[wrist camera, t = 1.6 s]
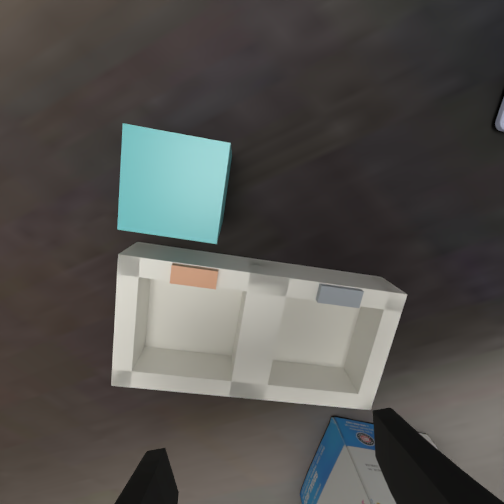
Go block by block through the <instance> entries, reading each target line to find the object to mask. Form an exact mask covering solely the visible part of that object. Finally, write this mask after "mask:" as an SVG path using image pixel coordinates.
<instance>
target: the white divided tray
mask: <svg viewBox="0 0 504 504" xmlns="http://www.w3.org/2000/svg"><path fill="white" fill-rule="evenodd" d="M406 297H407V294H406V293H405V292H403V291H402V290H400V289H399V288H397V287H396V286H394V285H393V284H391V283H390V282H388V281H387V280H385V279H384V278H382V277H379V276H372V275H365V274H358V273H351V272H344V271H337V270H331V269H324V268H317V267H310V266H303V265H296V264H289V263H282V262H275V261H268V260H261V259H254V258H247V257H240V256H233V255H226V254H219V253H212V252H205V251H198V250H191V249H184V248H177V247H170V246H163V245H156V244H149V243H142V242H136V243H135V244H133V245H132V246H130V247H129V248H127V249H126V250H124V251H123V252H121V253H120V254H118V267H117V286H116V305H115V324H114V343H113V362H112V380H111V386H121V387H131V388H142V389H153V390H163V391H174V392H184V393H195V394H205V395H216V396H227V397H237V398H248V399H258V400H269V401H280V402H290V403H301V404H311V405H322V406H332V407H343V408H354V409H364V410H371V407H372V404H373V401H374V398H375V395H376V392H377V388H378V385H379V382H380V379H381V376H382V373H383V370H384V366H385V363H386V360H387V357H388V354H389V351H390V348H391V345H392V341H393V338H394V335H395V332H396V329H397V326H398V323H399V319H400V316H401V313H402V310H403V307H404V304H405V301H406Z"/></svg>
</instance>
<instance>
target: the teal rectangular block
mask: <svg viewBox="0 0 504 504" xmlns="http://www.w3.org/2000/svg"><path fill="white" fill-rule="evenodd" d="M231 159H232V151H231V143H227V142H222V141H216V140H211V139H205V138H200V137H194V136H189V135H184V134H178V133H173V132H167V131H162V130H156V129H151V128H145V127H140V126H134V125H129V124H123V131H122V150H121V170H120V189H119V209H118V228H117V229H118V230H125V231H132V232H138V233H145V234H152V235H159V236H166V237H172V238H179V239H186V240H193V241H200V242H207V243H213V244H217V241H218V237H219V233H220V230H221V226H222V222H223V216H224V208H225V201H226V194H227V187H228V180H229V173H230V166H231Z"/></svg>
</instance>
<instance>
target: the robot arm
mask: <svg viewBox="0 0 504 504" xmlns="http://www.w3.org/2000/svg"><path fill="white" fill-rule="evenodd" d="M495 126H496V128H497V130H499V131H502V132H504V98H503V101H502V104H501V106H500V109H499V112H498V115H497V118H496V121H495ZM373 423H374V441H375V457H376V459H377V462H378V464H379V467H380V469H381V471H382V474H383V476H384V479H385V481H386V483H387V485H388V488H389V490H390V492H391V494H392V496H393V498H394V500H395V502H396V504H504V502H502V501H501V500H500V499H498V498H497V497H496V496H494V495H493V494H492V493H491V492H489V491H488V490H487V489H485V488H484V487H483V486H482V485H480V484H479V483H478V482H476V481H475V480H474V479H473V478H471V477H470V476H469V475H468V474H466V473H465V472H464V471H463V470H462V469H460V468H459V467H458V466H457V465H456V464H454V463H453V462H452V461H451V460H450V459H448V458H447V457H446V456H445V455H444V454H442V453H441V452H440V451H439V450H438V449H436V448H435V447H434V446H433V445H432V444H431V443H430V442H428V441H427V440H426V439H425V438H424V437H423V436H422V435H420V434H419V433H418V432H417V431H416V430H415V429H414V428H413V427H412V426H410V425H409V424H408V423H407V422H406V421H405V420H404V419H403V418H402V417H401V416H399V415H398V414H397V413H396V412H395V411H394V410H393V409H391V408H386V409H380V410H374V411H373ZM177 503H178V489H177V486H176V483H175V479H174V476H173V473H172V469H171V466H170V463H169V459H168V456H167V453H166V449H165V448H162V449H156V450H151V451H147V452H146V453H145V455H144V457H143V458H142V460H141V461H140V463H139V465H138V466H137V468H136V470H135V471H134V473H133V475H132V476H131V478H130V480H129V481H128V483H127V484H126V486H125V488H124V489H123V491H122V493H121V494H120V496H119V497H118V499H117V501H116V502H115V504H177Z"/></svg>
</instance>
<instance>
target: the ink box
mask: <svg viewBox="0 0 504 504" xmlns="http://www.w3.org/2000/svg"><path fill="white" fill-rule="evenodd" d="M419 434H420V435H422V436H423V437H424V438H425V439H426V440H427V441H428V442H430V443H431V444H432V445H433V446H434V447H435V448H436V449H438V448H437V447H436V446H435V444H434V443H433V442H432V440H431V439H430V438H429V436H428V435H427V434H422V433H419ZM438 450H439V449H438ZM300 496H301V501H302V504H396V502H395V500H394V498H393V496H392V494H391V492H390V490H389V488H388V485H387V483H386V481H385V479H384V476H383V474H382V471H381V469H380V467H379V464H378V462H377V459H376V457H375V441H374V424H369V423H365V422H359V421H354V420H348V419H343V418H338V417H331V420H330V424H329V426H328V428H327V430H326V433H325V435H324V437H323V439H322V441H321V443H320V446H319V448H318V450H317V453H316V455H315V457H314V459H313V462H312V464H311V466H310V469H309V471H308V473H307V476H306V479H305V481H304V484H303V486H302V489H301V492H300Z"/></svg>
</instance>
